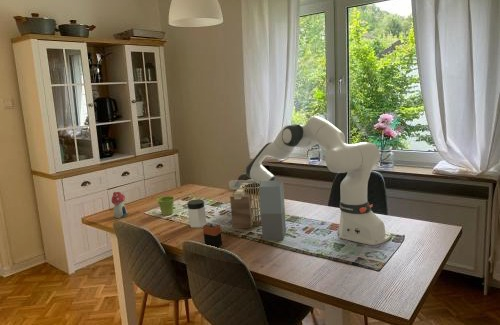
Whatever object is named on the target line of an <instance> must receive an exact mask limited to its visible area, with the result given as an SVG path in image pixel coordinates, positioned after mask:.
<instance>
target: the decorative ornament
mask: <svg viewBox="0 0 500 325" xmlns="http://www.w3.org/2000/svg"><path fill="white" fill-rule="evenodd" d="M125 199H126V197H125V195H124V194H123V193H122V192H121V191H114V192H113V193H112V197H111V203H112V204H113V211H112V212H113V215H114V216H113V217H114V218H116V219H123V218H126V217H127V216H128V213H129V211H128V210H127V208H126V205H125V204H124V201H125Z"/></svg>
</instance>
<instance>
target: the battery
mask: <svg viewBox="0 0 500 325" xmlns="http://www.w3.org/2000/svg"><path fill="white" fill-rule="evenodd" d="M206 223H207V224H206V225H204V226H202V231H203V240H204V245H205V244H207V245H211V246H215V247H217V248H219V247H221V246H222V245H223V239H222V238H223V236H222V228H221V225H220V224H217V222H215V223H214V222H213V223H211V222H206Z"/></svg>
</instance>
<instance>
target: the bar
mask: <svg viewBox="0 0 500 325" xmlns="http://www.w3.org/2000/svg"><path fill="white" fill-rule="evenodd" d="M248 184H249V183H243V184H242V185H241V186H240V187H239V189H238V190H235V191H236V192H235V191H234V192H235V193H234V192H233V193H234V199H241V198H242V197H243V195H244V194H245V188H242V186H244V185H248Z"/></svg>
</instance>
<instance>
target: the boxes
mask: <svg viewBox="0 0 500 325" xmlns="http://www.w3.org/2000/svg"><path fill="white" fill-rule="evenodd" d="M236 191H237V190H234V192H233V193H232V194H231V195H230V197H229V199H230V210H231V222H232V229H233V228H234V229H252V227H253V226H254V224H253V220H252V208H251V194H247V193H245V194H244V195H243V197H242V198H241V199H234V193H235V192H236ZM259 196H260V199H259V208H260V220H261V233H262V235H261V236H262V240H264V241H265V240H266V241H269V240H270V241H284V238H285V235H286V232H287V226H286V225H287V224H286V208H285V206H286V205H285V192H284V180H282V179H281V180H279V179H278V180H276V179H275V180H272V181H263V182H262V183H261V184H260V186H259Z"/></svg>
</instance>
